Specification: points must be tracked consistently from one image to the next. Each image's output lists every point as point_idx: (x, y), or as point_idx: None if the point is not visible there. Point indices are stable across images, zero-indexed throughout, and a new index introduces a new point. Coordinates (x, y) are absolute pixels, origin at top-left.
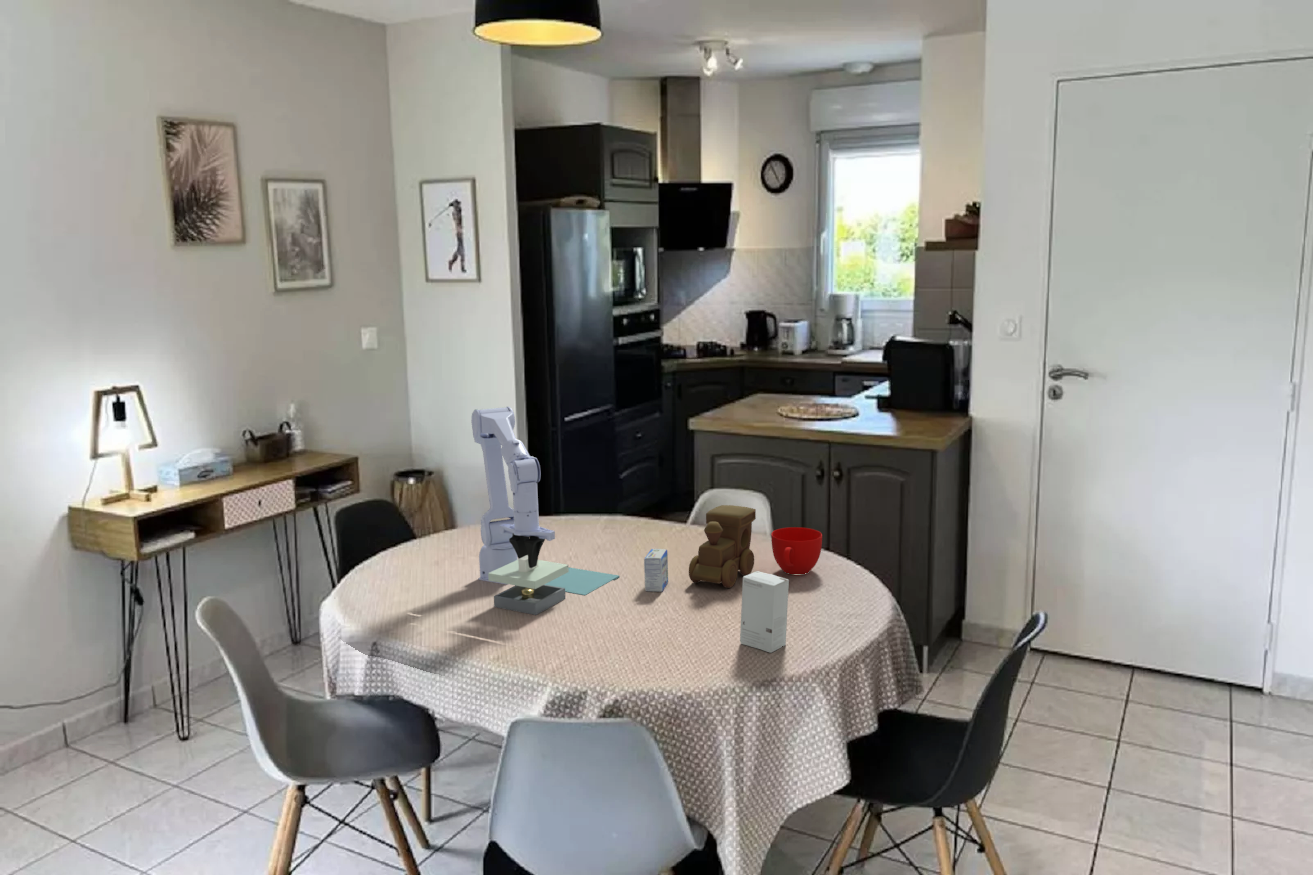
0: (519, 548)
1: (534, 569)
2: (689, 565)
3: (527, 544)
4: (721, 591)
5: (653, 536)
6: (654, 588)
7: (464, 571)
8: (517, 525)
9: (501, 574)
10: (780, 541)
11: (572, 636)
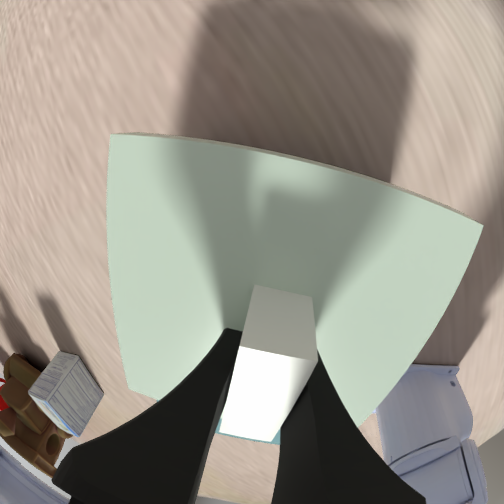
0: (313, 456)
1: None
2: None
3: (147, 482)
4: (22, 348)
5: (215, 488)
6: (64, 356)
7: (476, 388)
8: None
9: (410, 214)
10: (3, 406)
11: (60, 66)
